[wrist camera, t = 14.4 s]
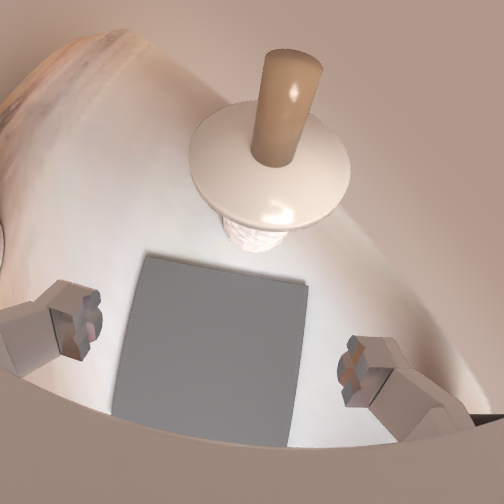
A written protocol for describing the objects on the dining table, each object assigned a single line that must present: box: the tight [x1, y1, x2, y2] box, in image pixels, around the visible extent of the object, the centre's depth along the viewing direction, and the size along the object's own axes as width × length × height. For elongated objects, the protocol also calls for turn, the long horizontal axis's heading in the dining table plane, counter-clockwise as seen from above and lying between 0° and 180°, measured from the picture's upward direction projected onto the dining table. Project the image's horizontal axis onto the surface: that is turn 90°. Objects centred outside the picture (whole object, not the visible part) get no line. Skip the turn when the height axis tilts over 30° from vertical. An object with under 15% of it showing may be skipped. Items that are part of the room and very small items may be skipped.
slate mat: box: [111, 256, 309, 447], centre depth 25 cm, size 16×16×1 cm
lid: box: [189, 49, 350, 232], centre depth 18 cm, size 12×12×9 cm
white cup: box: [223, 217, 288, 253], centre depth 26 cm, size 8×8×10 cm
